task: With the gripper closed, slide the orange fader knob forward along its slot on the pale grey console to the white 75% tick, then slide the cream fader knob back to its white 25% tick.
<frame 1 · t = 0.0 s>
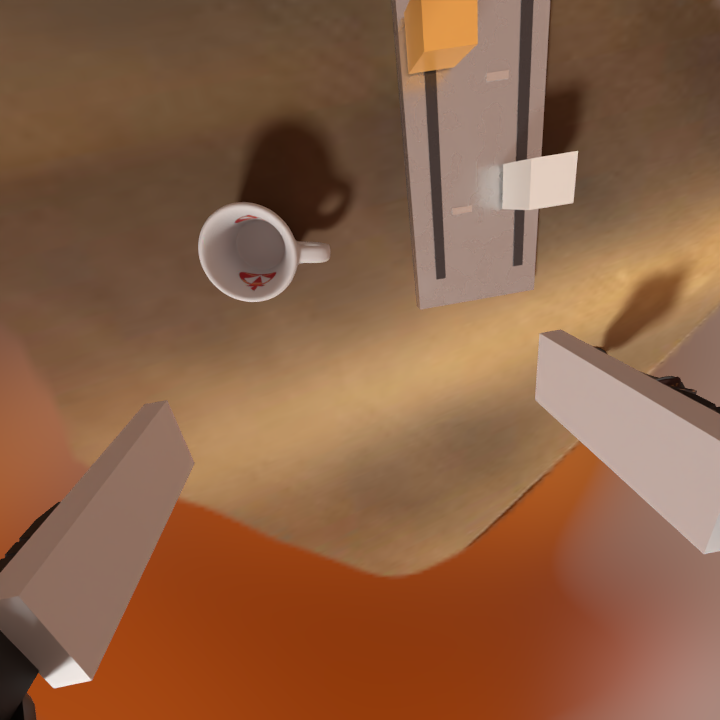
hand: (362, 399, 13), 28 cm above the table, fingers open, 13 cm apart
fader b: (536, 182, 33), point 4 cm above the table, slide at 14.0 cm
cup: (276, 244, 37), on the table
sundae: (587, 364, 47), on the table
console: (469, 158, 35), on the table
fader a: (439, 27, 27), point 4 cm above the table, slide at 2.0 cm
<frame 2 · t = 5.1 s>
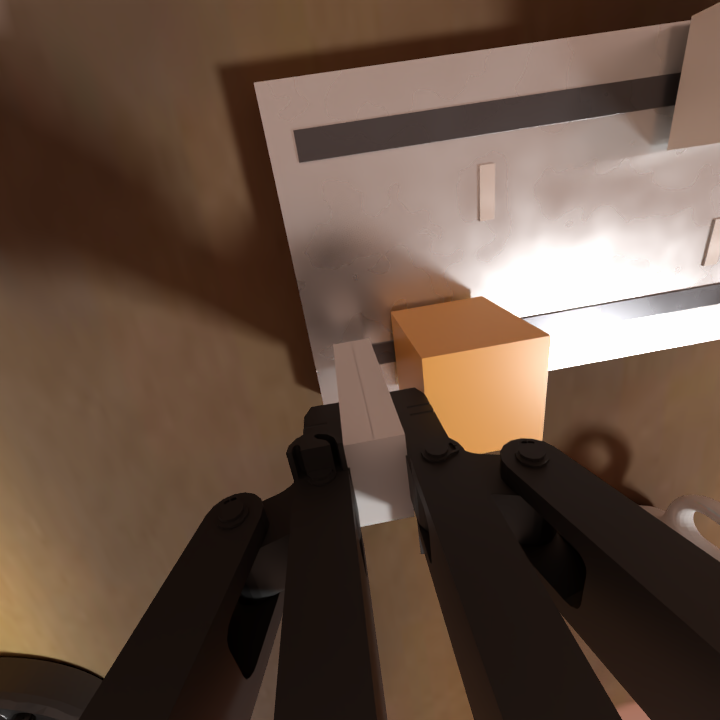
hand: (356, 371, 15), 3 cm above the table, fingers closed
cup: (624, 515, 25), on the table
console: (598, 221, 17), on the table
fader a: (458, 370, 14), point 4 cm above the table, slide at 2.6 cm, touching gripper
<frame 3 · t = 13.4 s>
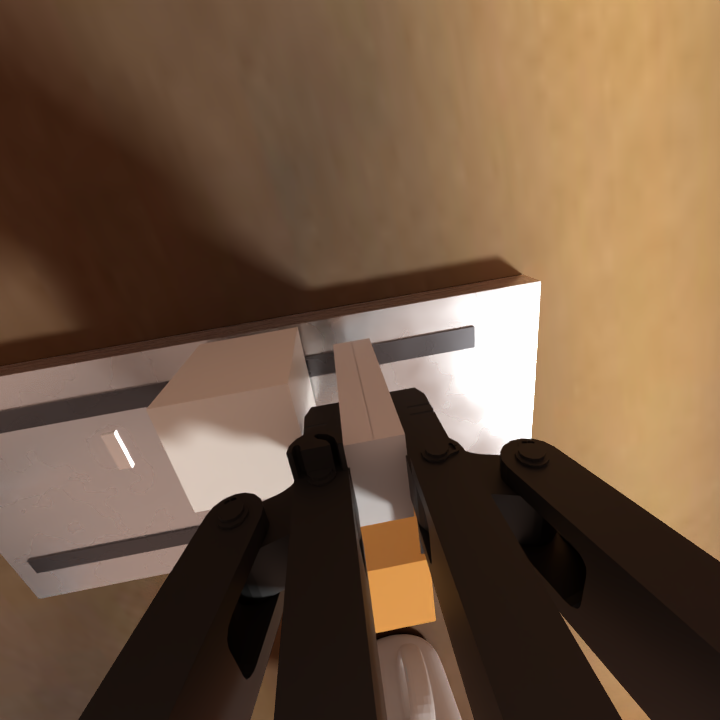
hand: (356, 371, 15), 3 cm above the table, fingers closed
fader b: (251, 409, 13), point 4 cm above the table, slide at 12.4 cm, touching gripper
cup: (395, 638, 28), on the table
console: (262, 441, 19), on the table
fader a: (375, 547, 17), point 4 cm above the table, slide at 16.0 cm
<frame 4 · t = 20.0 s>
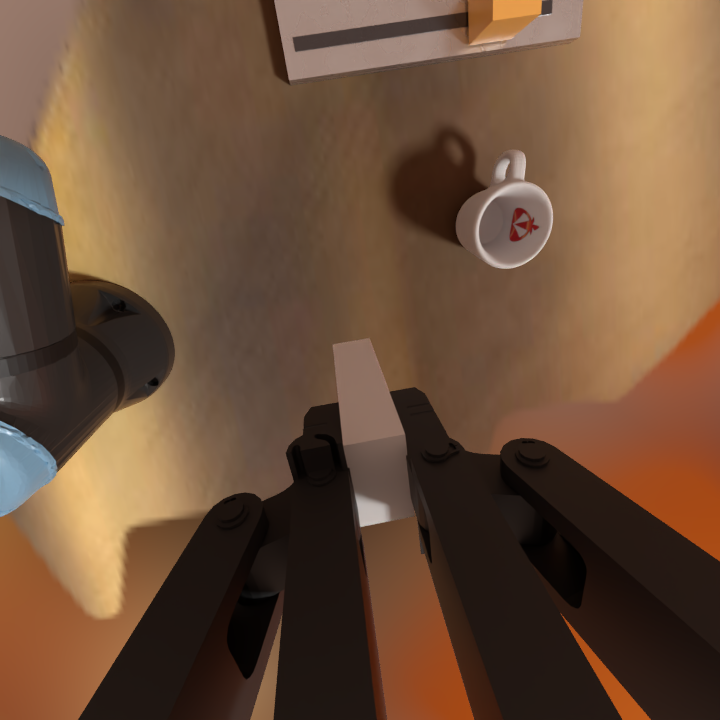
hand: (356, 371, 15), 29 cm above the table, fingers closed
cup: (481, 209, 41), on the table
fader a: (502, 0, 30), point 4 cm above the table, slide at 16.0 cm
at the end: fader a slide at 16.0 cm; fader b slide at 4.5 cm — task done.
